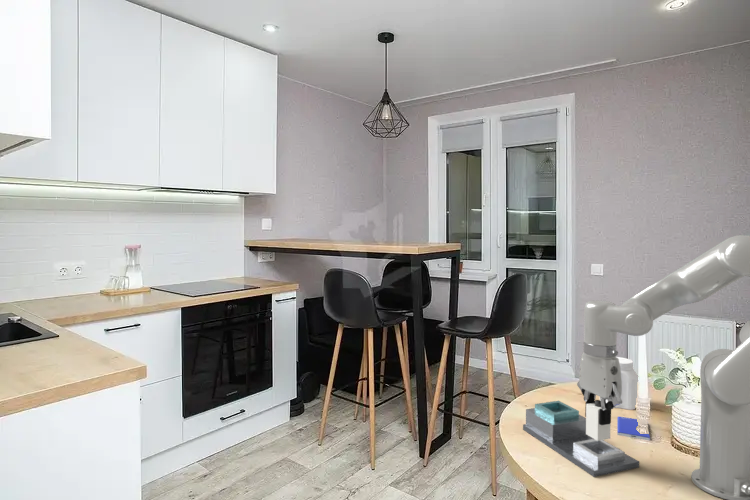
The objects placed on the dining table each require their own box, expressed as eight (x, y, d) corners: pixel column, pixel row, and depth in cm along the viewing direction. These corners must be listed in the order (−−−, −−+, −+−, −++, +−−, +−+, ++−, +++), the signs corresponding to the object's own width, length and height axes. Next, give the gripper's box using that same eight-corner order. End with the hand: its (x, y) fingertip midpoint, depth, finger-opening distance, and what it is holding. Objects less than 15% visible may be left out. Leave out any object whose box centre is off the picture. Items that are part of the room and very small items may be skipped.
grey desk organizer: (639, 467, 116) (639, 435, 115) (593, 477, 111) (594, 444, 111) (562, 423, 142) (562, 397, 142) (523, 429, 138) (523, 403, 138)
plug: (610, 438, 118) (610, 402, 117) (597, 440, 117) (598, 405, 116) (598, 431, 122) (598, 397, 121) (585, 434, 120) (586, 399, 120)
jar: (601, 406, 155) (601, 362, 155) (598, 396, 164) (599, 354, 164) (640, 411, 151) (641, 365, 151) (635, 400, 160) (636, 357, 160)
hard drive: (617, 416, 145) (617, 431, 134) (647, 420, 141) (650, 437, 130) (617, 420, 145) (617, 436, 134) (647, 425, 141) (650, 442, 130)
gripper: (638, 357, 111) (636, 432, 112) (587, 341, 127) (585, 406, 128) (614, 360, 109) (611, 436, 110) (564, 343, 125) (563, 409, 126)
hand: (597, 419), depth 119 cm, fingers closed on plug, 4 cm apart
